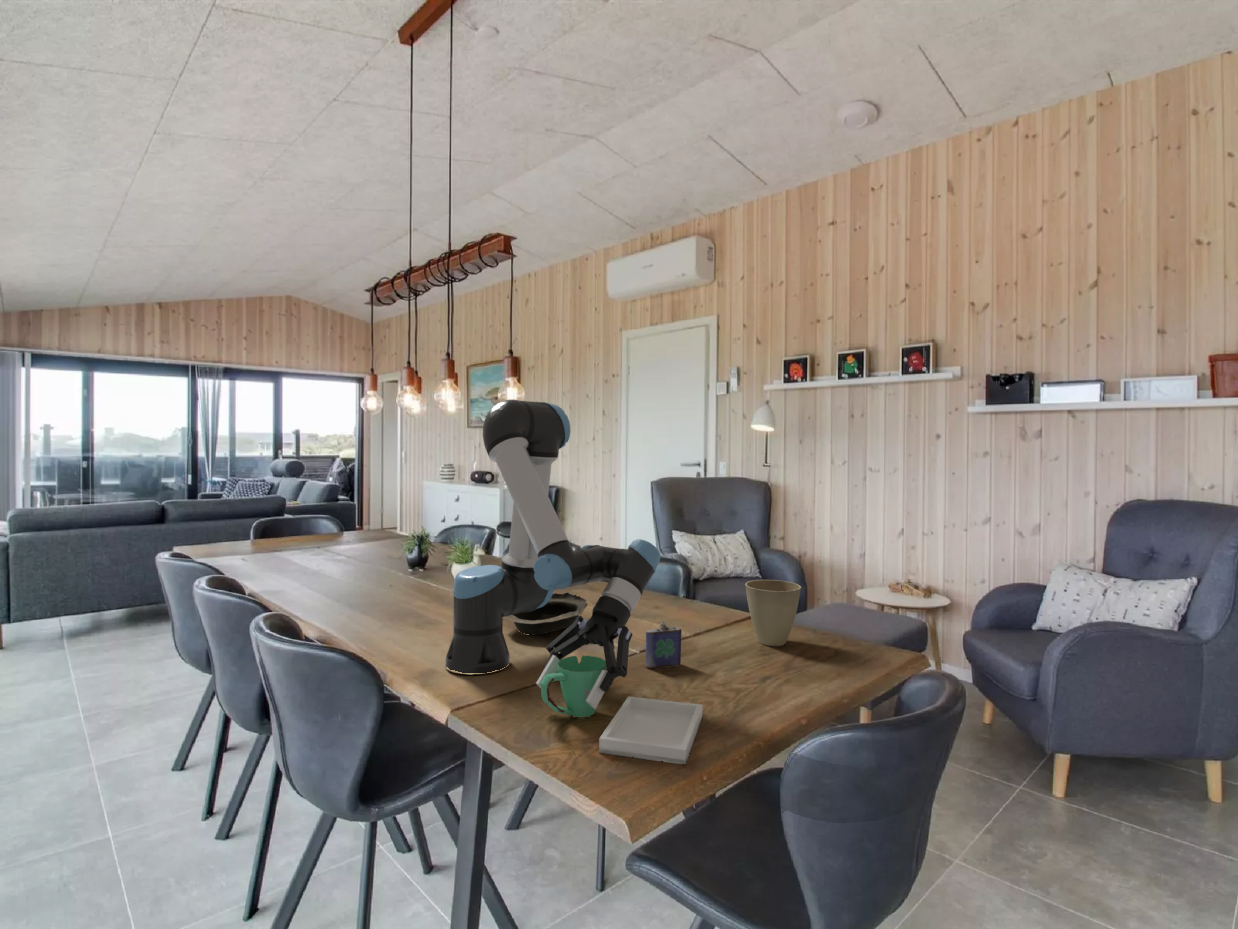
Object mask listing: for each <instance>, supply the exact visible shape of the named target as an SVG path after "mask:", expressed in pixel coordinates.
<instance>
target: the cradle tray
mask: <svg viewBox="0 0 1238 929" xmlns="http://www.w3.org/2000/svg"><path fill="white" fill-rule="evenodd" d="M702 719H703V704H697V703H689V702H681V701H672V700H663V699H655V698H647V697H639V696H638V697H636V696H629V695H628V696H627V698H626V699H625V701H624V702H623V703H622V705H621V706H620V707H619V709H618V711H617V712H616V714H615V715H614V717H613V718H612V719H611V721H609V724H608V725H607V726H606V727H605V729H604V731H603V733H602V734H601V735H600V737H599V738H598V740H599V741H598V745H599V746H598V753H599V754H604V755H613V756H619V757H624V758H632V757H633V759H640V760H647V761H655V762H661V761H663V763H670V764H675V765H682V764H687V762H688V759H689V755H690V754H689V753H691V750H692V748H693V745H694V743H695V739H696V736H697V734H698V730H699V727H700V725H701V723H702V722H701V721H702ZM691 747H692V748H691ZM686 761H687V762H686Z"/></svg>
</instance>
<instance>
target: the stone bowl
mask: <svg viewBox="0 0 1238 929" xmlns="http://www.w3.org/2000/svg"><path fill="white" fill-rule="evenodd" d="M588 605H589V604H588V603H587V599H585V598H583V597H581V596H578V595H577V594H571V593H570V592H565V593H557V592H556V593H554V592H553V594H552V597H551V599H550V600H549V602H548V603H547V604H546V605H544V606H543V607H541V608H538V609H535V610H533V611H530V612H523V613H519V614H514V615H510V616H505V617H504V618H505V619H506V620H507V621H510V622H513V624H514V626H515V627H516V629H517V630H519V631H520V632H522V633H525V634H529V635H532V636H533V635H534V636H536V635H537V636H538V635H544V634H548V633H552V632H556V631H561V630H564V629H567V628H568V627H569V626H571V625H572V624H573V622H574V621H575V620H576V618H577V617H578V616H580V615H581V614H583V612H584V611H585V608H586V607H587V606H588ZM519 631H518V632H519ZM520 632H519V633H520ZM522 633H521V634H522Z"/></svg>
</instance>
